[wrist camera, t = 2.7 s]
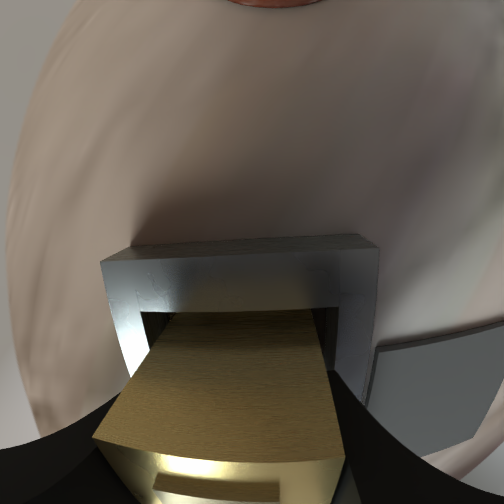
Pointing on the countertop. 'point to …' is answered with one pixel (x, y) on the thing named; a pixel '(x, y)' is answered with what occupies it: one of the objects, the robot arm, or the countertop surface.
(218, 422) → the gold drawer box
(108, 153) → the countertop surface
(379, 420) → the mat
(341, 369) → the grey rectangular frame
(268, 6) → the supplement bottle
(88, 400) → the countertop surface
